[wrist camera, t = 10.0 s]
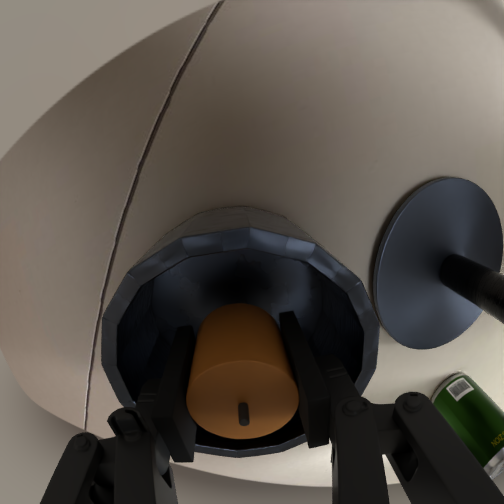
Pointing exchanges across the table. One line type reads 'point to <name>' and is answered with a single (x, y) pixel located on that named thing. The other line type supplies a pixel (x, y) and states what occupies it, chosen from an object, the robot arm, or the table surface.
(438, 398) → the beer can
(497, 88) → the table surface
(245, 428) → the candle
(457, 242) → the tin lid
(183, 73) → the table surface
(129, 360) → the tin
